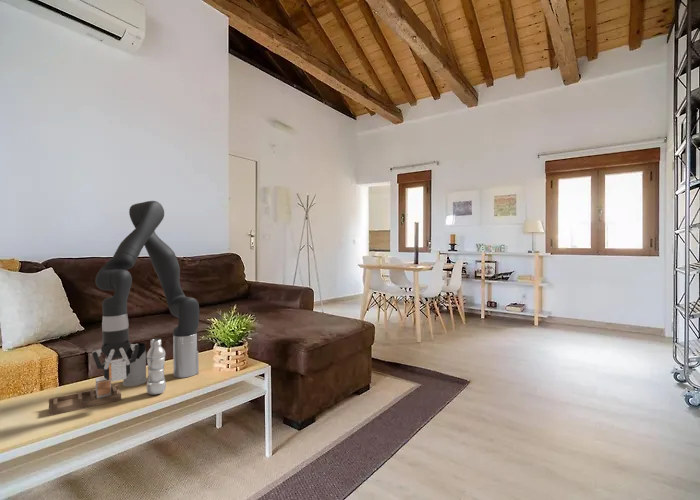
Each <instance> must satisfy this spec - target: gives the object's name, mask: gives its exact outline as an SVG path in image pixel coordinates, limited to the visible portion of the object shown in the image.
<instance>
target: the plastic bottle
mask: <svg viewBox="0 0 700 500" xmlns="http://www.w3.org/2000/svg"><path fill="white" fill-rule="evenodd" d="M149 344H150V345H149V346H150V348H149V349H148V351H146V364H147V369H148V371H147V373H148V375H147V382H146V392H147V394H148V395H151V396H154V395H160V394H162V393H164V392H165V391H166V387H167V383H166V377H165V361H166V350H165V348H163V346H162V338H153V339H150V343H149Z"/></svg>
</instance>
